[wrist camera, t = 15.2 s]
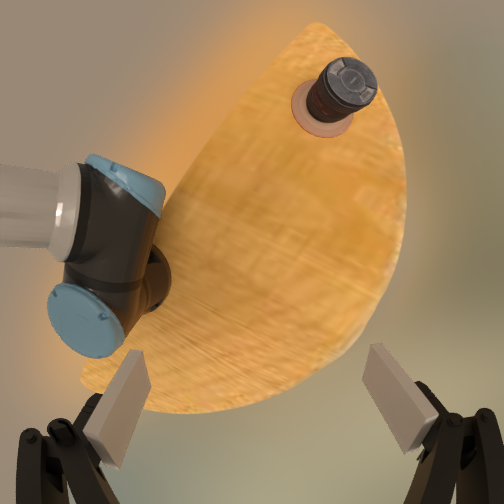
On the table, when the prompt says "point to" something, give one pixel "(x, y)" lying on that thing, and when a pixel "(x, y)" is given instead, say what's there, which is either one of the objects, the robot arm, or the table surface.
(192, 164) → the table surface
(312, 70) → the table surface
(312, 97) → the camera lens
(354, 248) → the table surface
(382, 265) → the table surface
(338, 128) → the plate
